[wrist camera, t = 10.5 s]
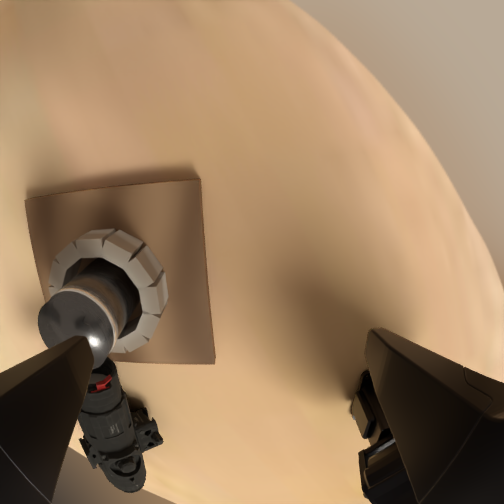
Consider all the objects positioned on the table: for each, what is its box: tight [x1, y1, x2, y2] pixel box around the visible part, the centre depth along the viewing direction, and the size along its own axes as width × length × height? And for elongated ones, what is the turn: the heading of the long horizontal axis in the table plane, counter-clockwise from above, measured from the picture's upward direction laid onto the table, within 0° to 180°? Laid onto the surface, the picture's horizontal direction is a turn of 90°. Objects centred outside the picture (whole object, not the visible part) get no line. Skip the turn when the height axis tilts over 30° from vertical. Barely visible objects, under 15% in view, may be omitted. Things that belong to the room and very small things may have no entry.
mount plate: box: [25, 179, 216, 364], centre depth 20 cm, size 14×14×4 cm
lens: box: [38, 257, 140, 369], centre depth 18 cm, size 5×5×7 cm
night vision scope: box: [78, 357, 164, 493], centre depth 23 cm, size 8×18×10 cm
